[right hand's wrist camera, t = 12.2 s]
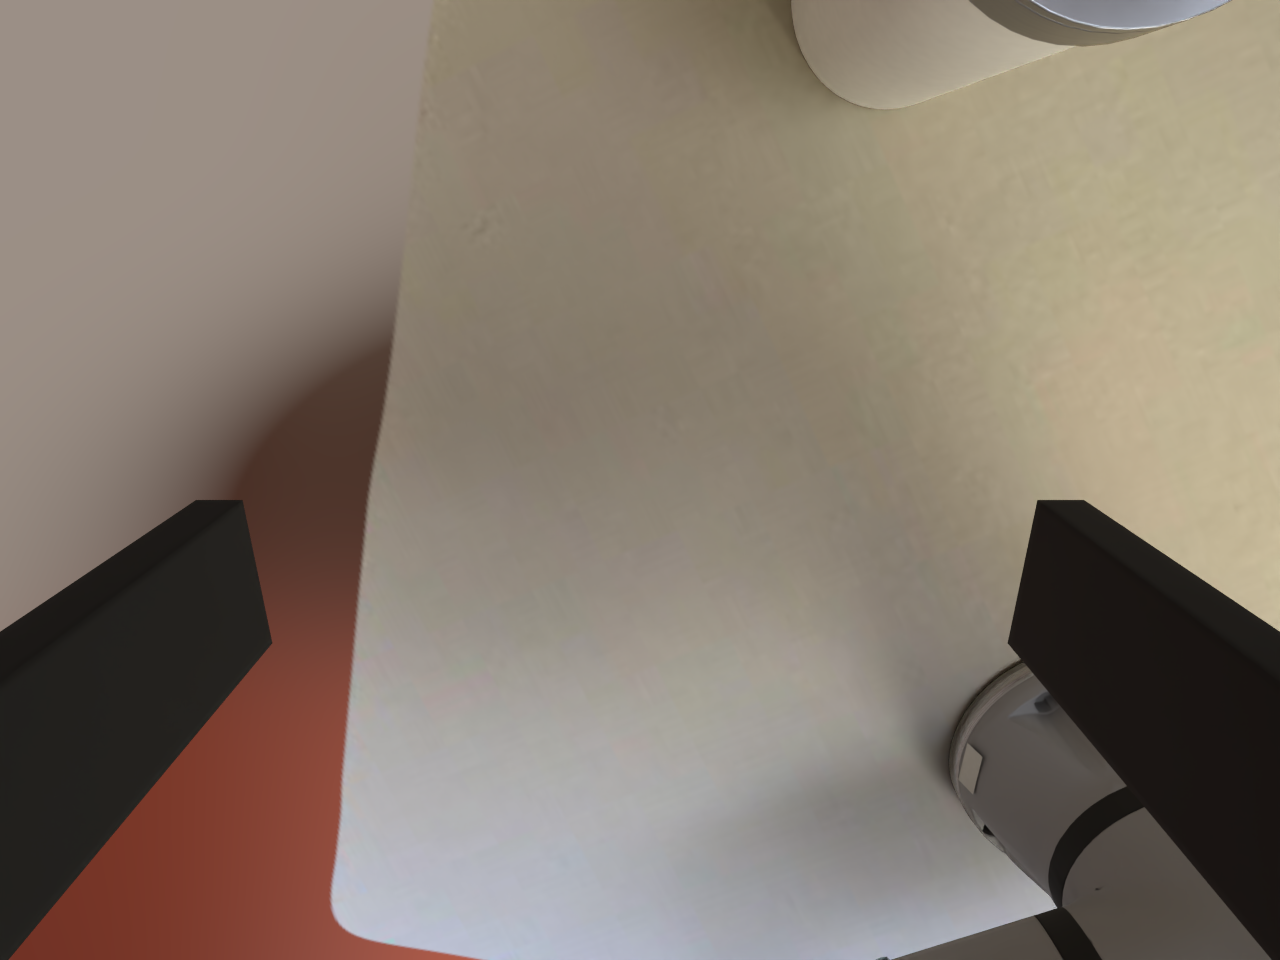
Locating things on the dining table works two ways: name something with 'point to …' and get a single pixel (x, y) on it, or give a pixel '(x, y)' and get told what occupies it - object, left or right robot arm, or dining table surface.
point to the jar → (906, 48)
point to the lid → (1091, 18)
